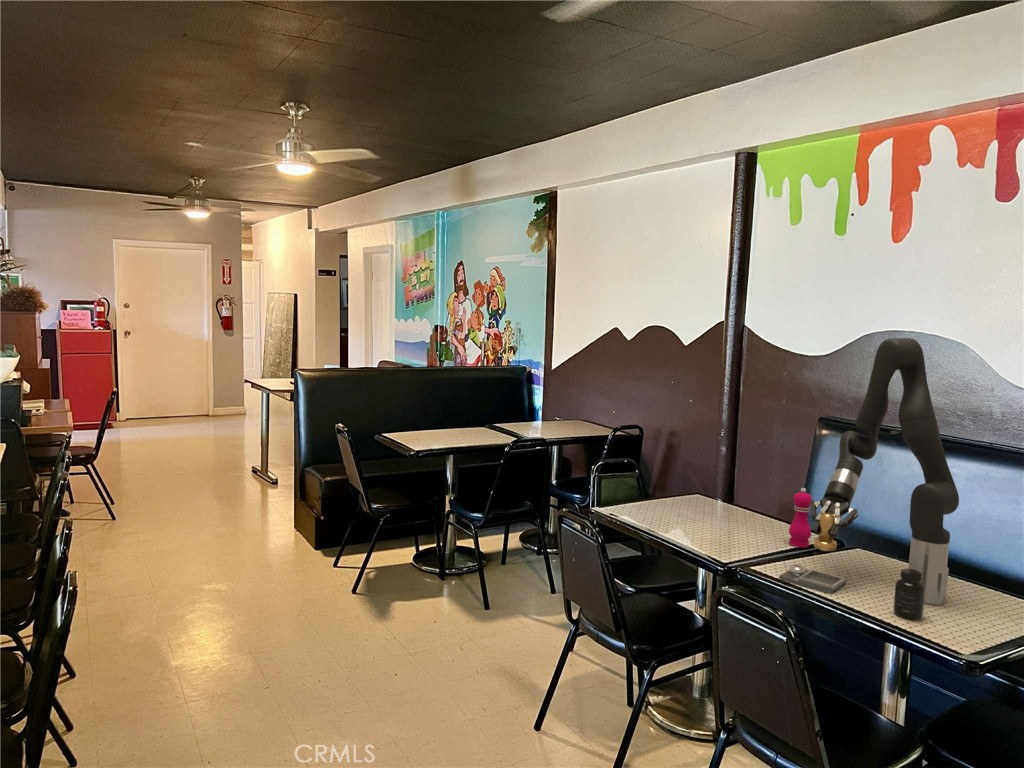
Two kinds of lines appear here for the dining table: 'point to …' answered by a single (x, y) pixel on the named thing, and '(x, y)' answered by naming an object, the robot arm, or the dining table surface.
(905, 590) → the supplement bottle
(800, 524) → the pepper mill
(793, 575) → the carrier
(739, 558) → the dining table surface
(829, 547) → the brass knob
